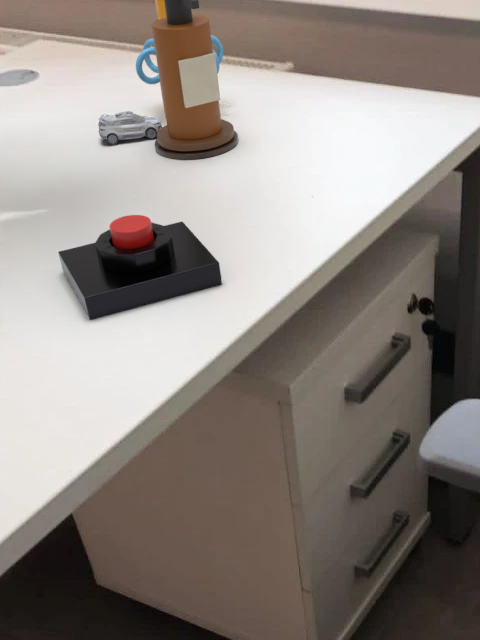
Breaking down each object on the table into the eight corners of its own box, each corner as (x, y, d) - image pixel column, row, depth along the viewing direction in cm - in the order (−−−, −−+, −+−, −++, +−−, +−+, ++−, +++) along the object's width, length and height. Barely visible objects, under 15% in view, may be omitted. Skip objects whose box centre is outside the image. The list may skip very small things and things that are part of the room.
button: (119, 255, 76) (115, 236, 75) (108, 239, 78) (104, 220, 77) (159, 245, 77) (156, 226, 76) (147, 229, 79) (144, 211, 78)
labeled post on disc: (145, 136, 107) (114, -43, 95) (212, 118, 111) (191, -56, 98) (178, 157, 101) (149, -31, 89) (248, 138, 104) (230, -46, 92)
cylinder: (224, 125, 111) (209, -7, 101) (142, 130, 111) (119, -1, 102) (230, 94, 120) (216, -29, 111) (154, 99, 121) (134, -23, 111)
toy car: (167, 137, 109) (163, 112, 107) (101, 147, 107) (96, 122, 105) (162, 127, 111) (159, 103, 110) (99, 137, 110) (94, 112, 108)
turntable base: (170, 166, 101) (169, 160, 101) (145, 140, 108) (144, 135, 108) (251, 148, 104) (250, 142, 104) (221, 124, 111) (220, 119, 111)
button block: (90, 321, 75) (79, 278, 72) (63, 273, 82) (53, 232, 79) (222, 285, 78) (216, 243, 76) (185, 242, 85) (179, 202, 83)
